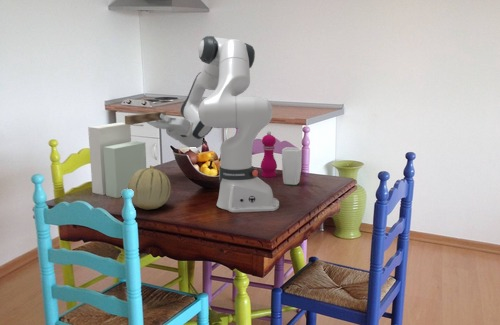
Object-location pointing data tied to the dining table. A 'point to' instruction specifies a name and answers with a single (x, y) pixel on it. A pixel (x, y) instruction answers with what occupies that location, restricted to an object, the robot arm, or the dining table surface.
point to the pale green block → (122, 165)
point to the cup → (291, 165)
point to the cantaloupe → (149, 188)
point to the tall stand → (97, 141)
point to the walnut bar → (143, 117)
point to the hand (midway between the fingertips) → (156, 115)
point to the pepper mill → (268, 156)
